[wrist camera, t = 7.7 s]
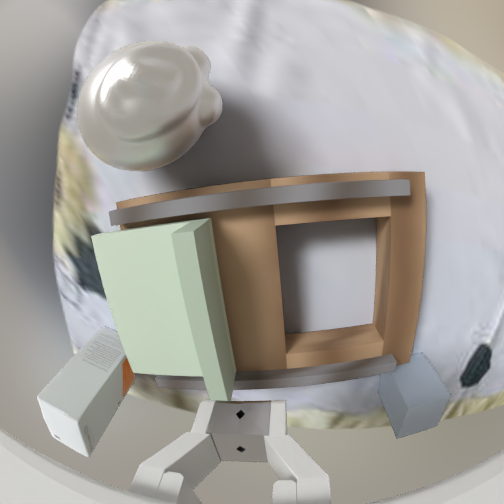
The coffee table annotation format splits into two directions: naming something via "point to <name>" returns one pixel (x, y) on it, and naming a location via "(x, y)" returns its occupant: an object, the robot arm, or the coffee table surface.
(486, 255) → the coffee table surface
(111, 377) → the skincare box
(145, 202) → the wooden box frame
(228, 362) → the lid
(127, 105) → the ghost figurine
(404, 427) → the block
